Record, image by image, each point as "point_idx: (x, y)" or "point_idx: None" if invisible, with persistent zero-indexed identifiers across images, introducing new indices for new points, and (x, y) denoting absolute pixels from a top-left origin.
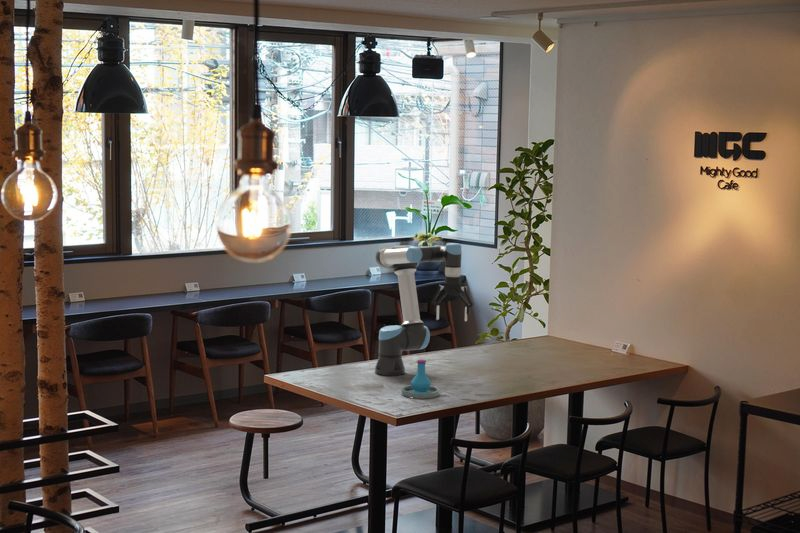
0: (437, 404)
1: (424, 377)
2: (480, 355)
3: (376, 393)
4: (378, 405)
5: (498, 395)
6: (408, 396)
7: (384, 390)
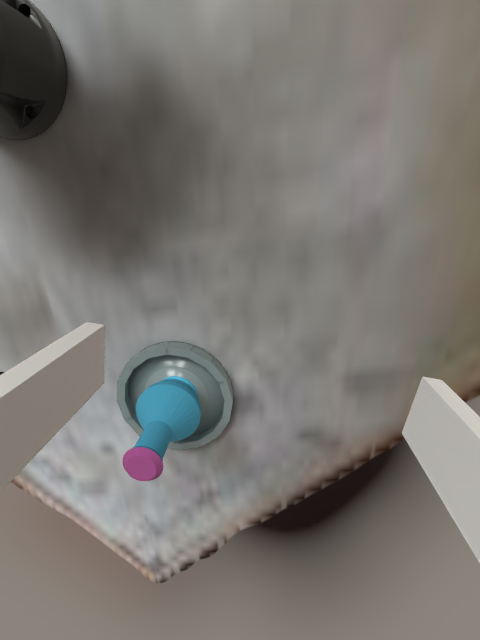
0: (233, 486)
1: (175, 439)
2: None
3: None
4: (94, 501)
5: None
6: None
7: None
